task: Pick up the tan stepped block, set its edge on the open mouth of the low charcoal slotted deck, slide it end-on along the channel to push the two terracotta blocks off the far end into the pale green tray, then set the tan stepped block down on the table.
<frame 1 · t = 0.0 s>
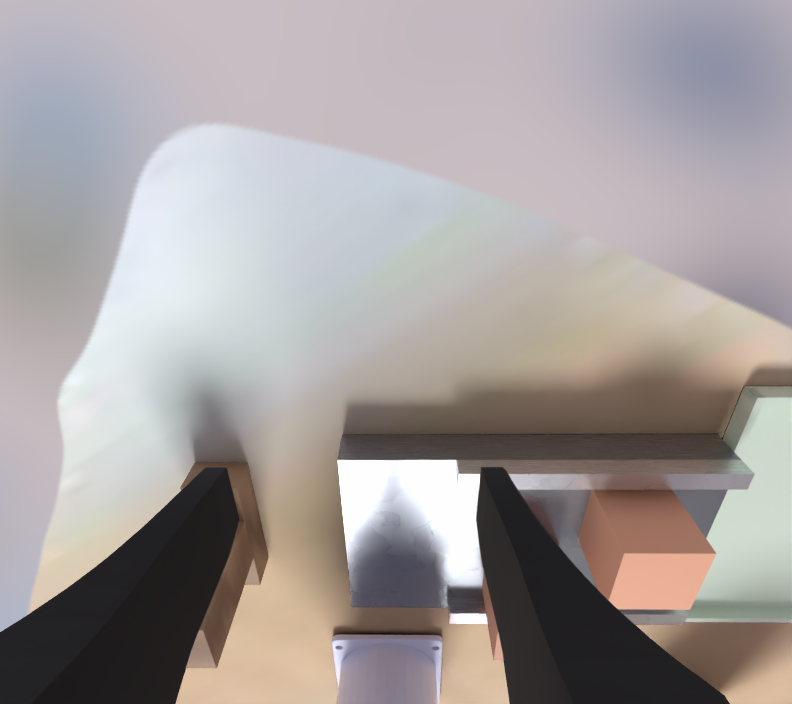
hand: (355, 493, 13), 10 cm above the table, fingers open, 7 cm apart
block b: (622, 514, 25), point 2 cm above the table, touching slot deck
block a: (519, 567, 27), point 2 cm above the table, touching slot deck
tan stepped block: (234, 512, 28), on the table
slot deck: (515, 514, 28), on the table
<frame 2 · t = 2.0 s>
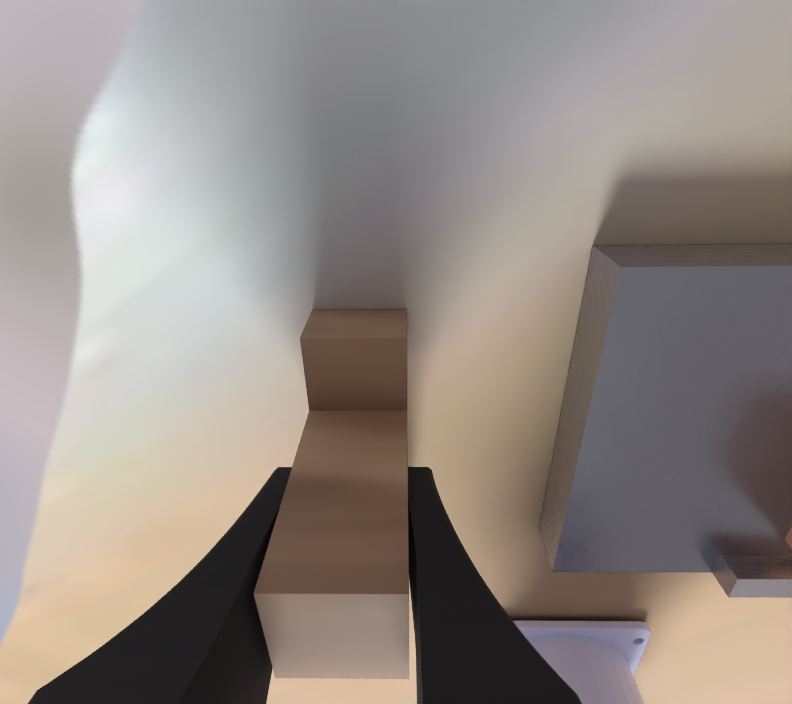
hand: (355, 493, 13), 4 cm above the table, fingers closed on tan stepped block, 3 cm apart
tan stepped block: (365, 411, 17), on the table, touching gripper
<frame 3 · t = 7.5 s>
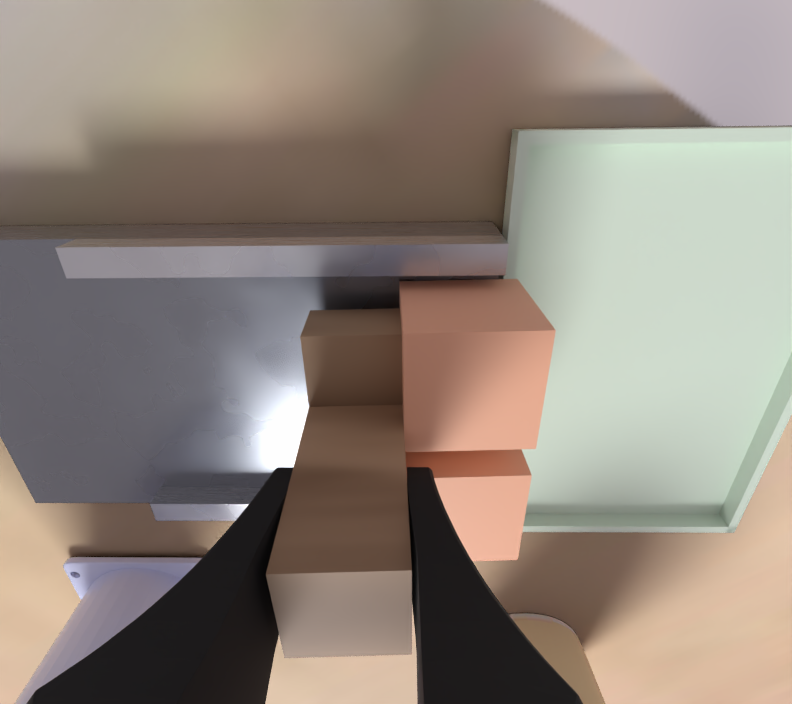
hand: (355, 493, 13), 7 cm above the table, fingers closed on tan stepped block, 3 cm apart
tray: (639, 364, 19), on the table
block b: (455, 333, 17), point 2 cm above the table, touching tan stepped block
block a: (449, 444, 19), point 2 cm above the table, touching tan stepped block
tan stepped block: (361, 408, 17), point 3 cm above the table, touching block a, block b, gripper
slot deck: (245, 365, 20), on the table
coffee cup: (517, 645, 30), on the table
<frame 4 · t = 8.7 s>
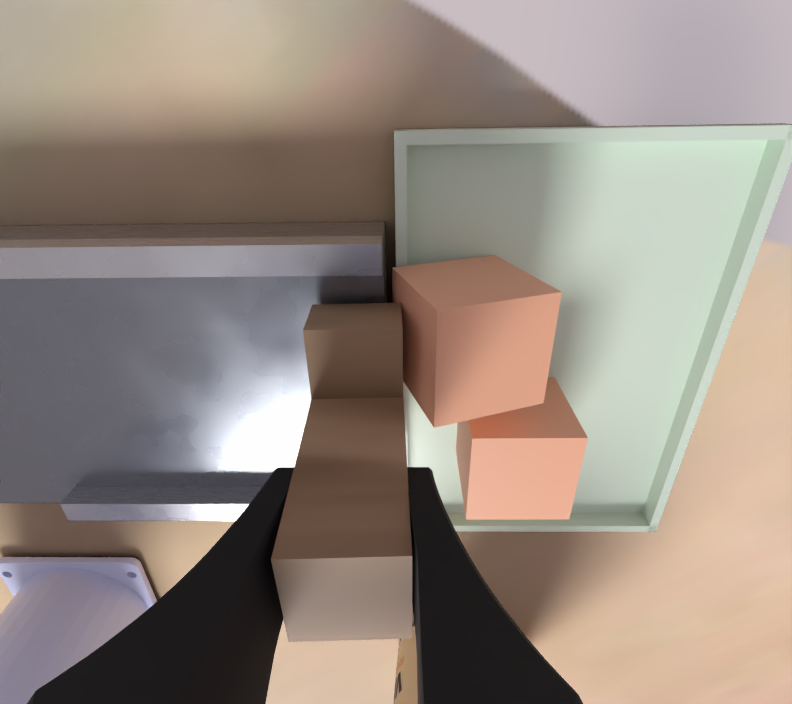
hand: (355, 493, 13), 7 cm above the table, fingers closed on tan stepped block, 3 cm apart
tray: (547, 364, 19), on the table
block b: (443, 312, 17), point 1 cm above the table, tilted 19°, touching tray
block a: (462, 445, 19), point 2 cm above the table, tilted 90°, touching tray
tan stepped block: (362, 401, 18), point 2 cm above the table, touching gripper
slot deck: (155, 366, 20), on the table
coffee cup: (457, 645, 30), on the table
when the fingers open (5 cm above the table, at t = 12.9 s): tan stepped block stays where it is, on the table.
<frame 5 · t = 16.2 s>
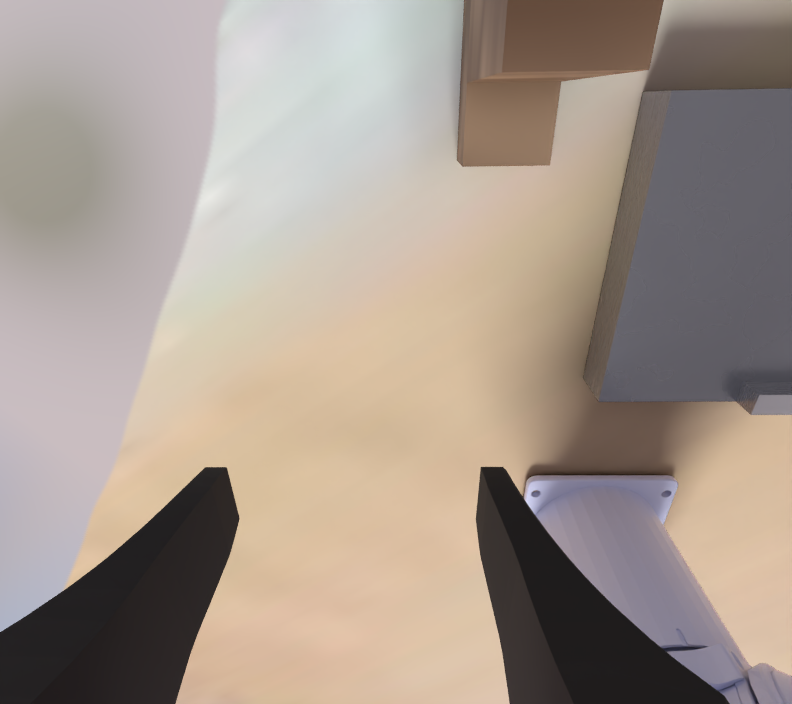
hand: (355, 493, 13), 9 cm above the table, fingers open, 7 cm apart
tan stepped block: (506, 33, 16), on the table
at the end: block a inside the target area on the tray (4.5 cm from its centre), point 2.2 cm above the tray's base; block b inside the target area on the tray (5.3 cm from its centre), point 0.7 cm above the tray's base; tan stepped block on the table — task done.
